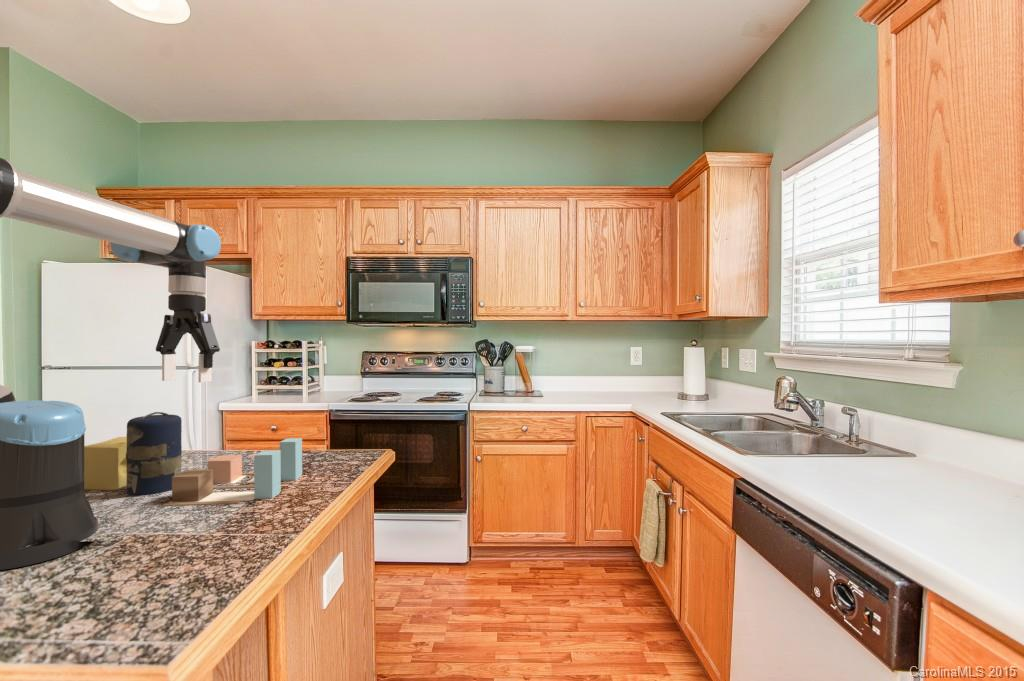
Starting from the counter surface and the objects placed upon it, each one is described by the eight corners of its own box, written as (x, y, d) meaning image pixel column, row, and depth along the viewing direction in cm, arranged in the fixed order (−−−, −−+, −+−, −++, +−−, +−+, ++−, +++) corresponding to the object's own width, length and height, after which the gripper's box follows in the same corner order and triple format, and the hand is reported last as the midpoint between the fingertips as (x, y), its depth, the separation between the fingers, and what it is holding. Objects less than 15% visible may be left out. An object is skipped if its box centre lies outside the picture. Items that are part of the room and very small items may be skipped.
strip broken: (294, 486, 104) (294, 442, 104) (204, 489, 103) (204, 444, 103) (303, 479, 110) (303, 437, 110) (218, 481, 108) (218, 439, 108)
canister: (117, 497, 98) (117, 413, 98) (167, 485, 106) (167, 407, 106) (140, 505, 93) (139, 417, 93) (190, 491, 102) (190, 410, 102)
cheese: (159, 477, 113) (158, 437, 113) (117, 492, 102) (116, 447, 102) (120, 476, 114) (120, 436, 114) (74, 490, 103) (74, 446, 103)
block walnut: (198, 501, 91) (198, 476, 91) (172, 502, 91) (171, 477, 91) (212, 492, 96) (212, 469, 96) (187, 493, 96) (187, 469, 96)
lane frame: (237, 510, 90) (237, 502, 90) (162, 513, 89) (162, 504, 89) (282, 478, 111) (282, 471, 111) (222, 480, 110) (222, 473, 110)
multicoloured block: (270, 505, 92) (270, 455, 92) (168, 508, 91) (168, 458, 91) (282, 496, 98) (281, 449, 98) (186, 499, 96) (185, 451, 96)
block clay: (230, 482, 103) (230, 460, 103) (207, 483, 103) (207, 461, 103) (241, 476, 108) (241, 454, 108) (219, 476, 108) (219, 455, 108)
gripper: (236, 294, 112) (236, 381, 111) (171, 298, 121) (170, 378, 121) (206, 290, 105) (205, 383, 104) (139, 295, 114) (138, 380, 114)
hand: (186, 381), depth 113 cm, fingers open, 13 cm apart
